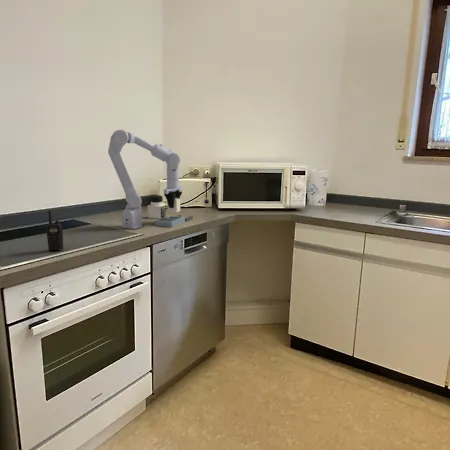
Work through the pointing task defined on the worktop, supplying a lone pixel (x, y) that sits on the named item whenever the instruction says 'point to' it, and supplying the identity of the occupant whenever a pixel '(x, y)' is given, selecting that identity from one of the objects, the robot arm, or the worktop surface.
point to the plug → (176, 206)
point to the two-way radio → (54, 234)
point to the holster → (187, 218)
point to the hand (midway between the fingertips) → (173, 207)
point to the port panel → (169, 221)
